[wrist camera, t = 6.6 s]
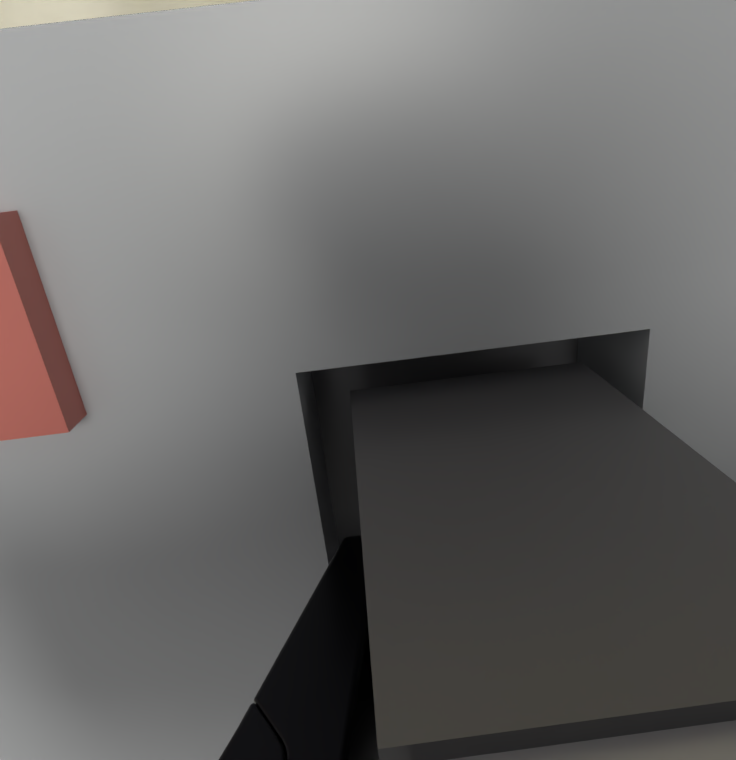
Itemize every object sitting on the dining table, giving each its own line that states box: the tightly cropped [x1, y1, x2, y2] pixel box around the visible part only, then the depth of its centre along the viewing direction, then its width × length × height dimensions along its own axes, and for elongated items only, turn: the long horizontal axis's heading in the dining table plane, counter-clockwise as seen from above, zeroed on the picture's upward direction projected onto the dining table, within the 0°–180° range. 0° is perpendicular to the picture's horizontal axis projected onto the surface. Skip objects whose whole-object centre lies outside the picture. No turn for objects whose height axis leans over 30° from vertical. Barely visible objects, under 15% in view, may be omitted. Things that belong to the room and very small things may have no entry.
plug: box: [350, 362, 736, 760], centre depth 7 cm, size 4×5×7 cm
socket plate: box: [0, 0, 736, 760], centre depth 10 cm, size 20×16×4 cm
